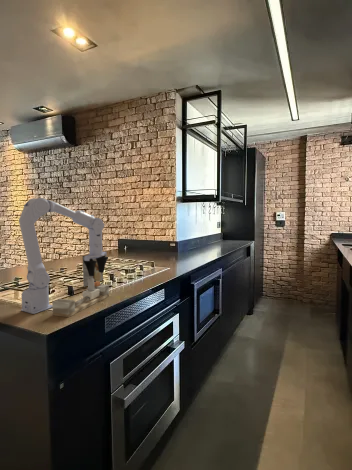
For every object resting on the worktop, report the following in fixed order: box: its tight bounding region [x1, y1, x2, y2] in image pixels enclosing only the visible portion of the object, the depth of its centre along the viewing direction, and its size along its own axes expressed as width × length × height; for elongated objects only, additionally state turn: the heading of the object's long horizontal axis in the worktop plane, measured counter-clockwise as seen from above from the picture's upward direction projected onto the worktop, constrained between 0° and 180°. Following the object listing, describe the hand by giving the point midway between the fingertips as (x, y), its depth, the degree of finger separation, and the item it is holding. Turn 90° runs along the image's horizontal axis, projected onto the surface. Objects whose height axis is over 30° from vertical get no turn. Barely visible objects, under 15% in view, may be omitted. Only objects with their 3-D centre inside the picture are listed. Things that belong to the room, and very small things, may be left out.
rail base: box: [51, 283, 110, 318], centre depth 123 cm, size 28×7×5 cm, turn 161°
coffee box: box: [81, 254, 104, 287], centre depth 155 cm, size 9×6×16 cm
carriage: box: [82, 279, 100, 300], centre depth 128 cm, size 6×4×8 cm
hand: (96, 274), depth 134 cm, fingers open, 7 cm apart
